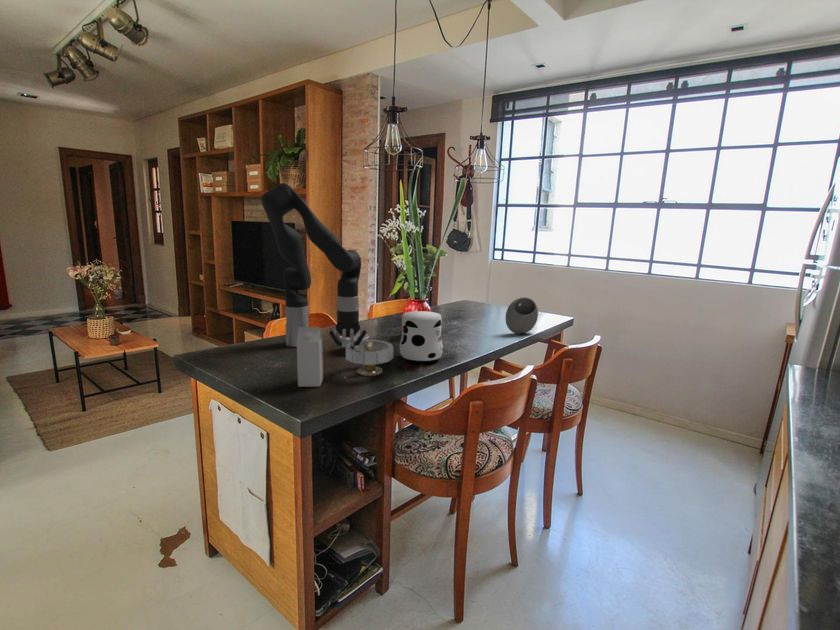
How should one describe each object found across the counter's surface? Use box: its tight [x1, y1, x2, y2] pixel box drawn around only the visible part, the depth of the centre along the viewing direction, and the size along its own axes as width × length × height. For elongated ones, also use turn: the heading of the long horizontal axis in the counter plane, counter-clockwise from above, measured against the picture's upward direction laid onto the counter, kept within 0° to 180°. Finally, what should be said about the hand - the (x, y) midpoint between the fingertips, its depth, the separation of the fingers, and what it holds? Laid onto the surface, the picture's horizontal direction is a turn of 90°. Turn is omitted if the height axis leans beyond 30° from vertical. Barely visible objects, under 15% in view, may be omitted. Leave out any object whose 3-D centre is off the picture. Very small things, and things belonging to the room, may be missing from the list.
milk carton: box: [296, 326, 324, 388], centre depth 140 cm, size 7×7×19 cm
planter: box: [505, 296, 539, 335], centre depth 214 cm, size 18×7×19 cm, turn 110°
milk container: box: [399, 310, 444, 363], centre depth 169 cm, size 17×17×18 cm
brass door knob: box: [356, 351, 384, 377], centre depth 153 cm, size 9×9×7 cm
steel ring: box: [345, 339, 394, 366], centre depth 152 cm, size 17×17×4 cm
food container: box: [339, 332, 370, 346], centre depth 179 cm, size 12×12×6 cm
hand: (348, 356), depth 151 cm, fingers closed on steel ring, 1 cm apart
